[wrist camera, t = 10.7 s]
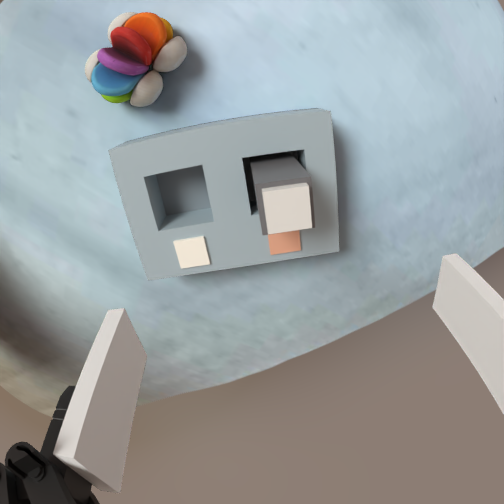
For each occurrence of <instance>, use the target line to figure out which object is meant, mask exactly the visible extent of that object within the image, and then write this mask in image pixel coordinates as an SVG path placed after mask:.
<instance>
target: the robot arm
mask: <svg viewBox="0 0 504 504" xmlns="http://www.w3.org/2000/svg"><path fill="white" fill-rule="evenodd" d="M433 309H434V310H435V312H436V313H437V314H438V316H439V317H440V318H441V320H442V321H443V322H444V324H445V325H446V326H447V328H448V329H449V331H450V332H451V333H452V335H453V336H454V338H455V339H456V340H457V342H458V343H459V345H460V346H461V348H462V349H463V351H464V352H465V353H466V355H467V356H468V358H469V359H470V361H471V362H472V364H473V365H474V367H475V368H476V370H477V372H478V373H479V375H480V376H481V378H482V379H483V381H484V383H485V384H486V386H487V387H488V389H489V390H490V392H491V394H492V395H493V397H494V399H495V400H496V402H497V404H498V405H499V407H500V409H501V411H502V412H503V414H504V300H503V299H502V298H501V296H500V295H499V294H498V293H497V292H496V291H495V290H494V289H493V288H492V287H491V286H490V285H489V284H488V283H487V282H486V281H484V280H483V278H482V277H481V276H480V275H479V274H478V273H477V272H476V271H475V270H474V269H472V268H471V267H470V266H469V265H468V264H467V263H466V262H465V261H464V260H463V259H462V258H461V257H460V256H459V255H457V254H456V253H455V254H450V255H445V256H443V258H442V263H441V269H440V274H439V279H438V284H437V289H436V294H435V298H434V303H433ZM146 360H147V354H146V352H145V350H144V348H143V346H142V344H141V342H140V340H139V338H138V336H137V334H136V332H135V330H134V328H133V326H132V323H131V321H130V319H129V317H128V315H127V313H126V310H125V308H122V309H113V310H108V312H107V314H106V316H105V318H104V320H103V323H102V325H101V327H100V329H99V332H98V334H97V336H96V338H95V341H94V343H93V345H92V348H91V350H90V352H89V355H88V357H87V360H86V362H85V365H84V367H83V370H82V372H81V375H80V377H79V380H78V382H77V385H76V386H68V387H67V389H66V390H65V391H64V392H63V394H62V395H61V396H60V399H59V401H58V404H57V406H56V410H55V412H54V414H53V420H51V423H50V426H49V428H48V431H47V434H46V437H45V440H44V443H43V446H42V449H41V452H38V451H37V450H36V449H35V448H33V446H31V445H30V444H28V443H27V442H19V443H16V444H14V445H13V446H12V447H11V448H10V449H9V451H8V452H7V454H6V458H5V466H4V465H3V464H2V463H0V504H99V502H98V500H97V499H96V497H95V495H94V494H93V493H92V492H91V486H92V485H94V486H95V487H96V488H98V489H99V490H101V491H107V492H114V493H120V491H121V484H122V478H123V471H124V466H125V460H126V454H127V448H128V443H129V438H130V433H131V428H132V423H133V418H134V413H135V408H136V404H137V399H138V395H139V390H140V386H141V381H142V377H143V373H144V369H145V364H146Z"/></svg>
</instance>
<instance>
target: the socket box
mask: <svg viewBox="0 0 504 504" xmlns="http://www.w3.org/2000/svg"><path fill="white" fill-rule="evenodd" d="M288 151H289V152H290V153H291V154H292V155H293V157H294V158H295V159H296V160H297V161H298V162H299V163H300V164H301V165H302V167H303V168H304V169H305V170H306V171H307V172H308V173H309V174H310V176H311V179H312V190H313V203H314V216H315V228H310V229H303V230H296V231H290V232H283V233H276V234H270V235H262V229H261V224H260V219H259V213H258V208H257V203H256V197H255V191H254V185H253V179H252V172H251V166H250V159H249V157H252V156H259V155H266V154H273V153H280V152H288ZM109 155H110V159H111V162H112V166H113V170H114V174H115V178H116V181H117V185H118V189H119V192H120V196H121V199H122V203H123V206H124V209H125V213H126V216H127V219H128V222H129V226H130V229H131V232H132V235H133V238H134V241H135V244H136V247H137V250H138V253H139V256H140V259H141V262H142V265H143V268H144V270H145V273H146V276H147V279H148V280H155V279H162V278H169V277H176V276H183V275H190V274H197V273H204V272H210V271H217V270H224V269H230V268H237V267H244V266H250V265H257V264H263V263H270V262H276V261H283V260H289V259H296V258H302V257H308V256H315V255H321V254H327V253H333V252H339V223H338V198H337V180H336V165H335V151H334V139H333V128H332V118H331V111H328V110H323V109H318V108H314V109H302V110H292V111H283V112H274V113H266V114H259V115H252V116H245V117H239V118H232V119H226V120H220V121H215V122H209V123H204V124H199V125H194V126H189V127H184V128H180V129H175V130H171V131H166V132H162V133H158V134H154V135H150V136H146V137H142V138H138V139H134V140H130V141H127V142H124V143H122V144H120V145H118V146H116V147H114V148H112V149H110V150H109Z"/></svg>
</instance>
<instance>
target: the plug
mask: <svg viewBox="0 0 504 504" xmlns="http://www.w3.org/2000/svg"><path fill="white" fill-rule="evenodd" d="M249 159H250V166H251V172H252V179H253V185H254V191H255V197H256V203H257V208H258V213H259V219H260V224H261V229H262V235H270V234H276V233H283V232H290V231H296V230H303V229H310V228H315V216H314V203H313V190H312V179H311V176H310V174H309V173H308V172H307V171H306V170H305V169H304V168H303V167H302V165H301V164H300V163H299V162H298V161H297V160H296V159H295V158H294V157H293V155H292V154H291V153H290V152H289V151H288V152H280V153H273V154H266V155H259V156H252V157H249Z"/></svg>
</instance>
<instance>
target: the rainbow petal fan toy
mask: <svg viewBox="0 0 504 504" xmlns="http://www.w3.org/2000/svg"><path fill="white" fill-rule="evenodd" d="M108 39H109V41H110V43H111V44H112V46H113V47H112V48H102V49H99V50H97V51H95V52H94V53H93V54H92V55H91V56H90V57H89V58H88V60H87V62H86V65H85V74H86V77H87V79H88V80H89V81H90V82H91V83H92V85H93V87H94V89H95V90H96V91H97V92H98V93H100V94H101V95H102V97H103V98H104V99H106V100H107V101H109V102H112V103H122V102H125V101H127V100H130V99H131V100H130V103H131V105H133V106H137V107H144V106H148V105H150V104H152V103H153V102H154V101H155V100H156V99H157V98H158V97H159V95H160V93H161V92H162V89H163V81H162V77H161V75H160V74H159V73H158V72H169V71H172V70H175V69H176V68H178V67H179V66H180V64H181V63H182V62H183V61H184V59H185V57H186V55H187V46H186V43H185V41H184V40H183V39H182V38H181V37H180V36H176V37H174V38H173V30H172V27H171V25H170V23H169V22H168V21H167V20H165V19H163V18H160V17H159V16H157V15H156V14H153V13H148V12H145V13H139V14H138V13H135V12H128V13H124V14H121V15H119V16H118V17H116V18H115V19H114V20H113V21H112V22H111V24H110V26H109V28H108ZM150 64H153V70H151V71H148V69H149V65H150Z"/></svg>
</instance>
